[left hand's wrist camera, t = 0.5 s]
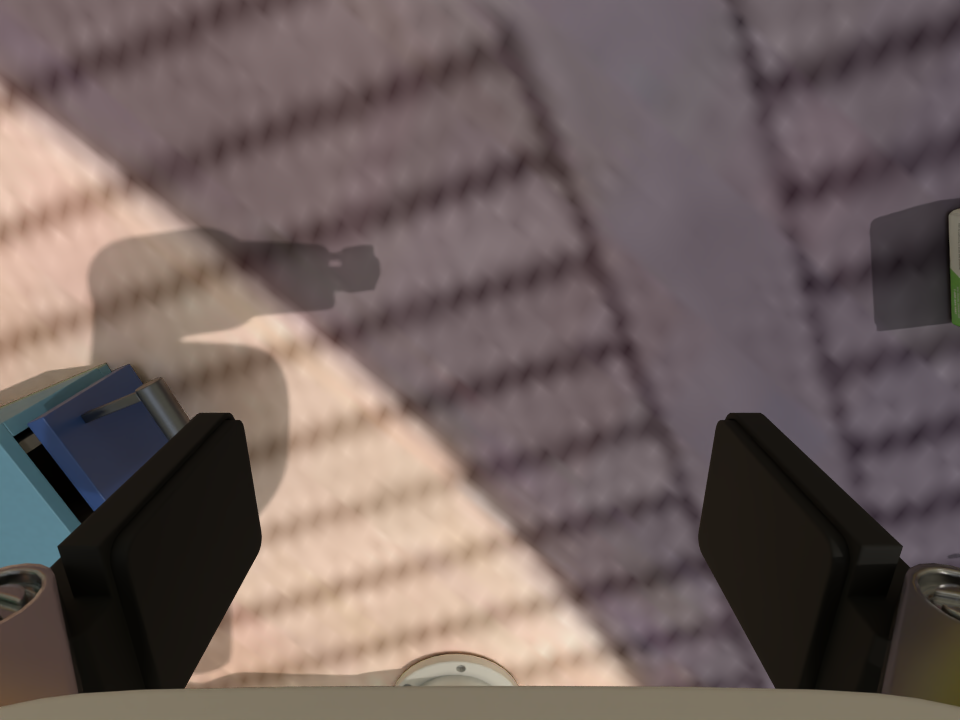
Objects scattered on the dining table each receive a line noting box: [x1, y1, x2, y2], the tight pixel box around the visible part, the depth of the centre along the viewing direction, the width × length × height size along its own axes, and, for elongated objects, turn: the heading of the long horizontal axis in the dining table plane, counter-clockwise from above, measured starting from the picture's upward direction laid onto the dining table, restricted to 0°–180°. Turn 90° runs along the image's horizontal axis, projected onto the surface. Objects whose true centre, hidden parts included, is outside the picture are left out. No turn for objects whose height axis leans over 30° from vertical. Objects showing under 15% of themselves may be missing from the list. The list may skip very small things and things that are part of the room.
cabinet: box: [0, 363, 111, 568], centre depth 40 cm, size 14×11×11 cm
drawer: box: [14, 364, 190, 523], centre depth 39 cm, size 18×10×9 cm, turn 112°
